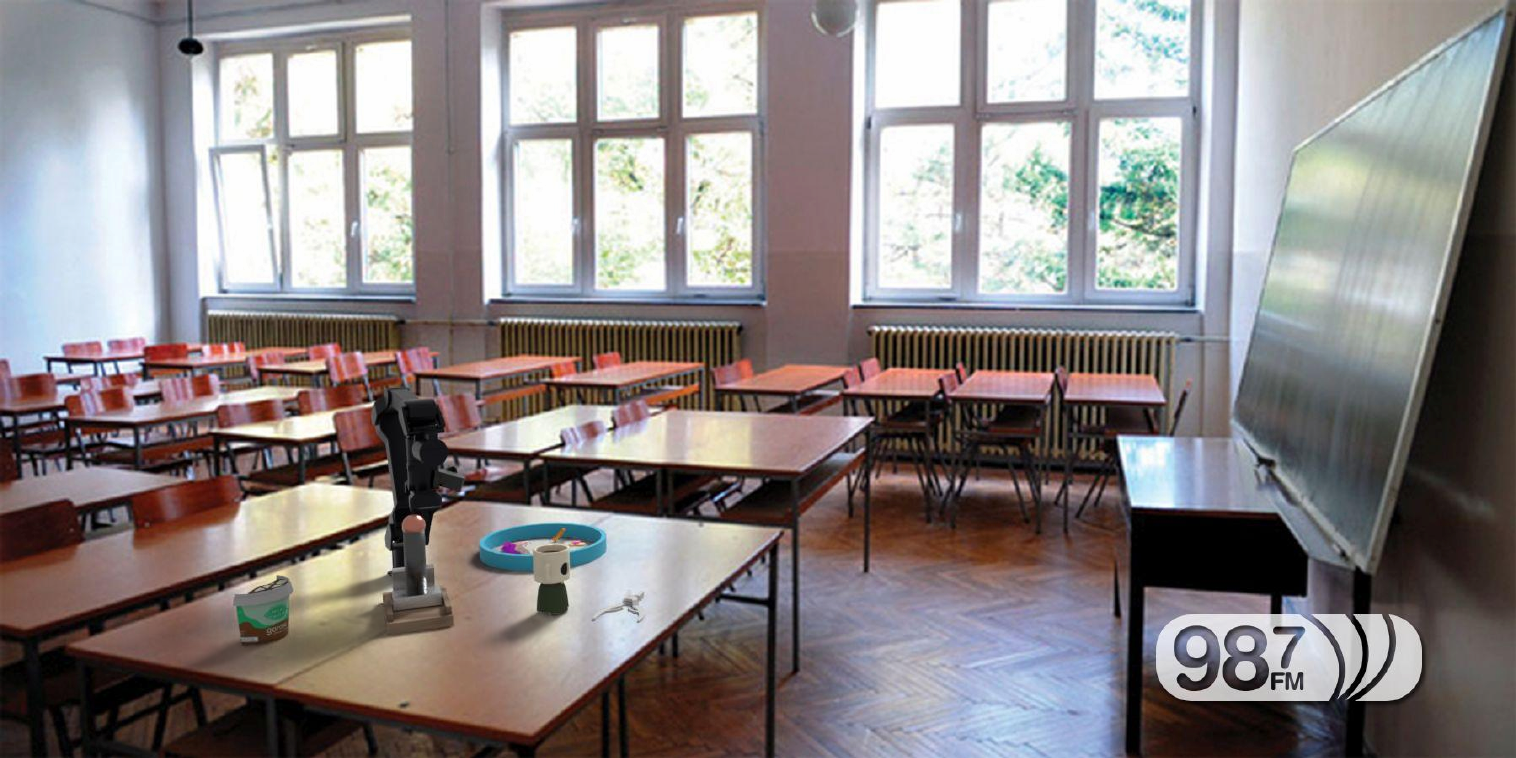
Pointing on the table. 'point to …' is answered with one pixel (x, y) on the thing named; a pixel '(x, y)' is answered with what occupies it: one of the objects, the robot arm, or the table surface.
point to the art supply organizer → (521, 557)
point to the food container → (264, 612)
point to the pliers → (628, 600)
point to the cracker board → (416, 616)
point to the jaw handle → (415, 569)
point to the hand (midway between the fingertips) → (424, 532)
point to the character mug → (551, 577)
